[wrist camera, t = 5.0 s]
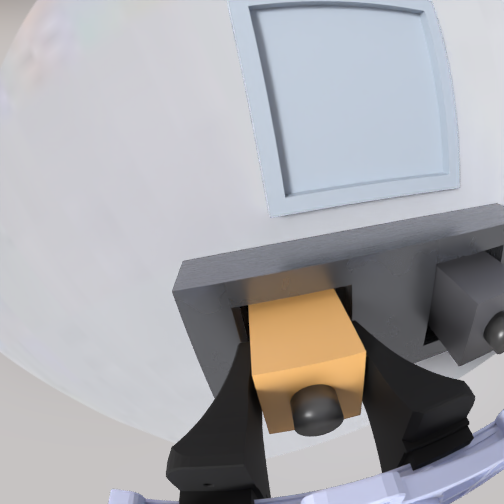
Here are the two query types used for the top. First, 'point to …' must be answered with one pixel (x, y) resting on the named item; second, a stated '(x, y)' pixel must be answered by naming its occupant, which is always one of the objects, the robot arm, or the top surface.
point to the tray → (347, 100)
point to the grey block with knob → (469, 306)
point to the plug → (306, 363)
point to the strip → (335, 281)
